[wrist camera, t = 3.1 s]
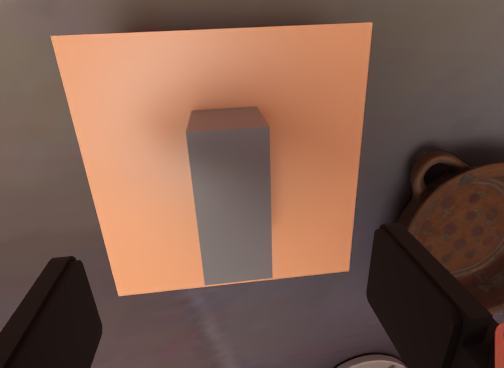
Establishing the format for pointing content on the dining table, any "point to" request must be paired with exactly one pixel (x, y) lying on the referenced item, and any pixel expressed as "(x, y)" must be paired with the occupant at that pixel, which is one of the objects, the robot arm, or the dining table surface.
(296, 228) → the lid
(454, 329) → the robot arm
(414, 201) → the dish
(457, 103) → the dining table surface
